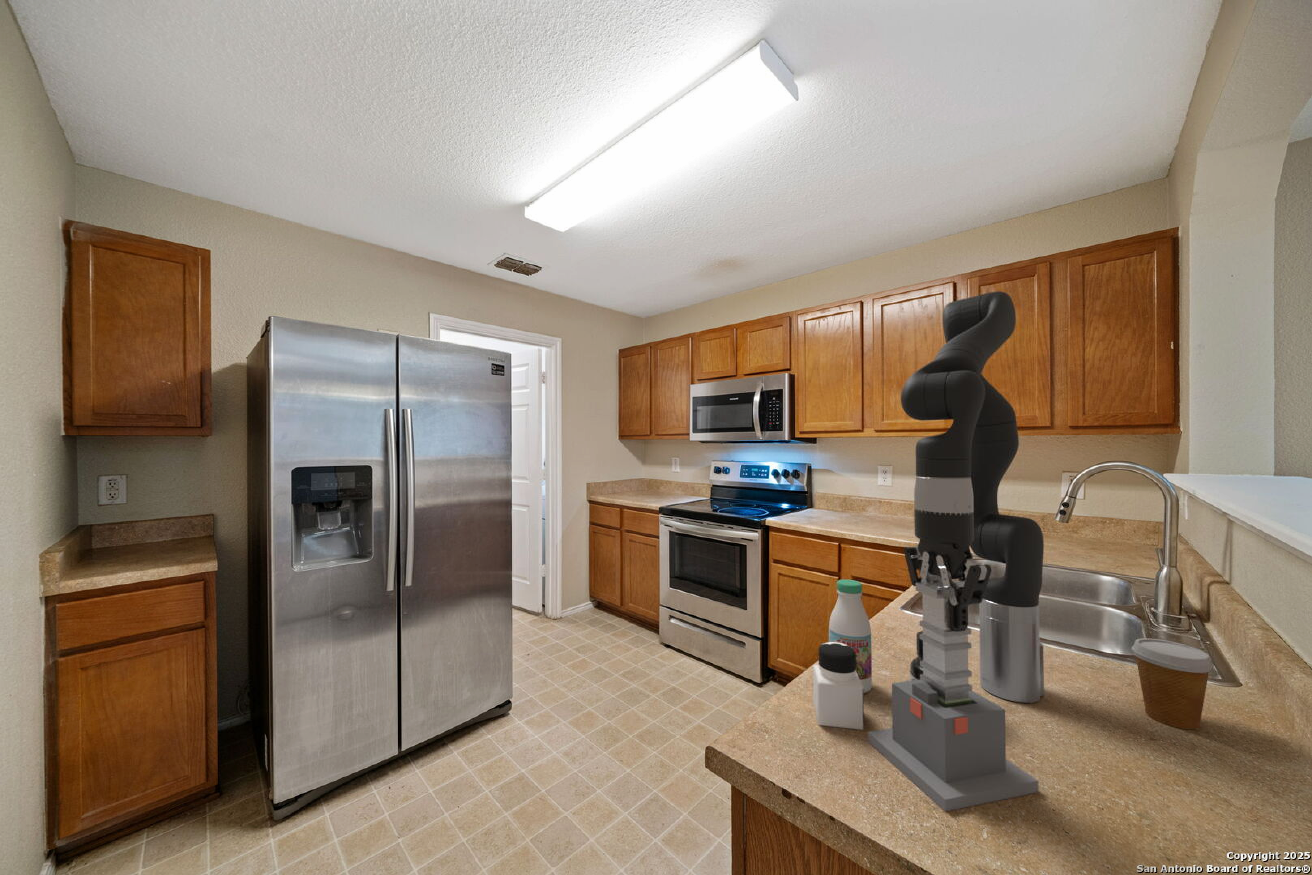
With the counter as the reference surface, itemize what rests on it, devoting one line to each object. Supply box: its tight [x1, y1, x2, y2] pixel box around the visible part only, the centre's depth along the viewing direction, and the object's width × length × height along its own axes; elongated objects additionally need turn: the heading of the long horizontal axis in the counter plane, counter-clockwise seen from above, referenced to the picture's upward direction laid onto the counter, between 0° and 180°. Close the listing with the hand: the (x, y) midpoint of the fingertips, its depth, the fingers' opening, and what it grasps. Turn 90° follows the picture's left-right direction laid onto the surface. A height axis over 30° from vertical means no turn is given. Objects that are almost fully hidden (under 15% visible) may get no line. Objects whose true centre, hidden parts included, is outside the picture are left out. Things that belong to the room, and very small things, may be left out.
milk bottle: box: [828, 578, 873, 694], centre depth 94 cm, size 8×8×20 cm
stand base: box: [867, 679, 1039, 812], centre depth 71 cm, size 15×15×12 cm
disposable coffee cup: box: [1131, 637, 1214, 730], centre depth 82 cm, size 10×10×12 cm
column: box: [915, 579, 973, 708], centre depth 71 cm, size 6×5×18 cm
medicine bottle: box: [812, 641, 865, 731], centre depth 83 cm, size 7×7×12 cm
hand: (944, 624), depth 71 cm, fingers closed on column, 4 cm apart
